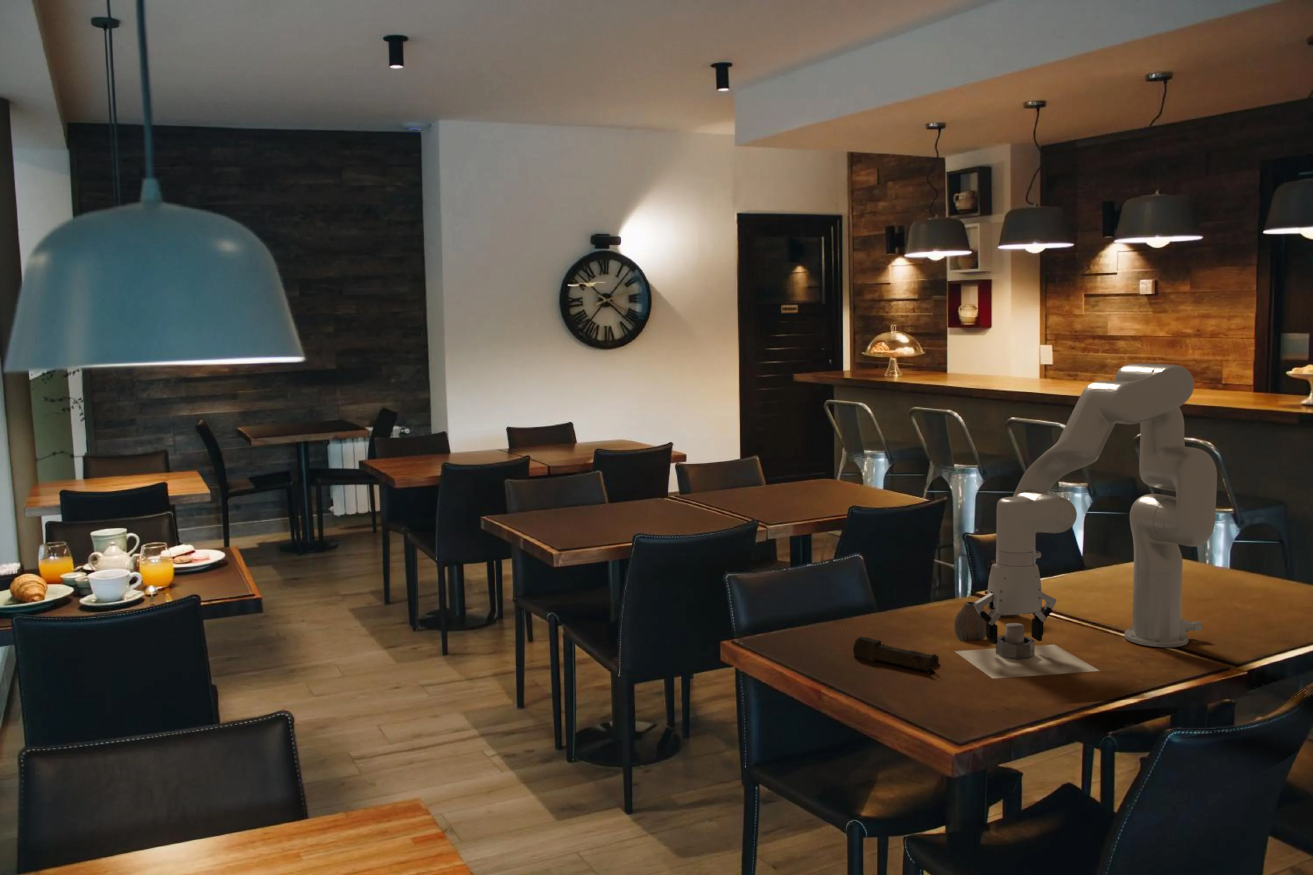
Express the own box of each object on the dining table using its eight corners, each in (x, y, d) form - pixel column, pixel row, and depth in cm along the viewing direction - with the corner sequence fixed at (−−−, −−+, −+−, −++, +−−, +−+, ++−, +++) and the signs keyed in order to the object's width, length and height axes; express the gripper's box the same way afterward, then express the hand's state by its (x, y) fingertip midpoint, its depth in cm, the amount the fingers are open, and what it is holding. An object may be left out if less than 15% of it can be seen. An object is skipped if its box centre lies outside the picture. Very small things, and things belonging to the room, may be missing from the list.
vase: (988, 647, 237) (989, 607, 236) (955, 646, 238) (955, 606, 237) (985, 638, 243) (986, 599, 242) (953, 637, 245) (953, 598, 244)
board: (1054, 651, 233) (1054, 616, 232) (1100, 678, 215) (1100, 640, 214) (954, 658, 230) (954, 622, 229) (992, 685, 212) (992, 647, 211)
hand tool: (940, 672, 222) (940, 649, 221) (929, 676, 219) (930, 653, 219) (861, 653, 235) (861, 632, 235) (850, 658, 232) (850, 636, 232)
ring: (1023, 648, 230) (1023, 633, 230) (1039, 657, 224) (1039, 643, 223) (991, 650, 229) (991, 636, 229) (1006, 660, 223) (1006, 645, 222)
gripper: (1046, 552, 229) (1045, 633, 231) (967, 556, 227) (966, 638, 229) (1064, 559, 222) (1063, 643, 224) (983, 564, 220) (982, 648, 221)
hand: (1014, 640), depth 226 cm, fingers open, 9 cm apart
